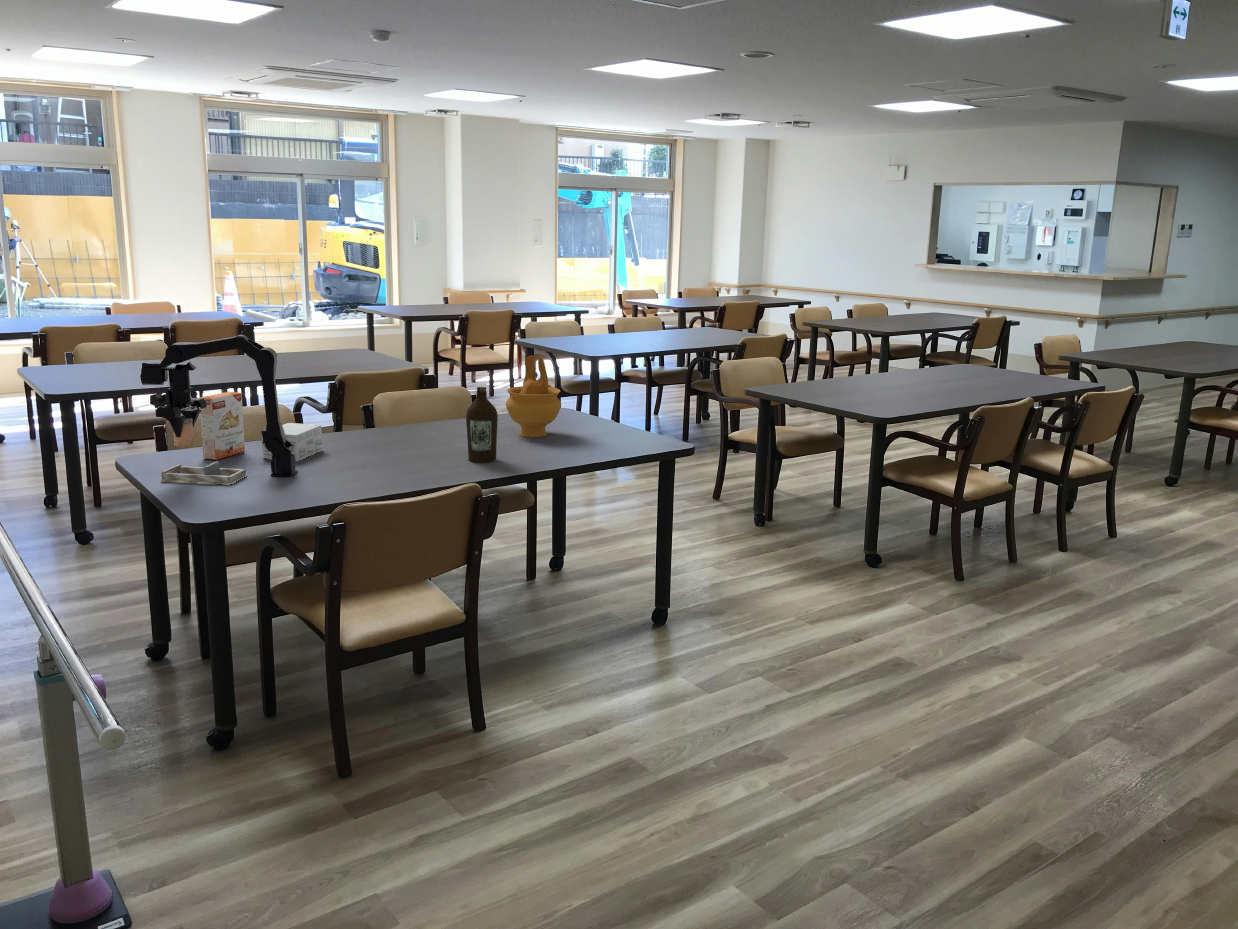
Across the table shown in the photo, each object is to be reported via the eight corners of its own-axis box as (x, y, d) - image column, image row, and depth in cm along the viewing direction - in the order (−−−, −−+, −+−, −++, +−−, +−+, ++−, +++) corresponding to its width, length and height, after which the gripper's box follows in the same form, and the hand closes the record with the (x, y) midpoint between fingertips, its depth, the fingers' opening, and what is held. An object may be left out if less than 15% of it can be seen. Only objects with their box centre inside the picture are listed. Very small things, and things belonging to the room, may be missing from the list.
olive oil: (468, 456, 339) (467, 384, 333) (499, 456, 339) (498, 384, 333) (464, 463, 328) (463, 389, 322) (496, 463, 329) (496, 390, 323)
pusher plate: (219, 474, 305) (218, 461, 304) (208, 479, 298) (207, 466, 297) (216, 474, 305) (215, 461, 304) (204, 479, 298) (203, 466, 297)
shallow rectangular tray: (247, 476, 306) (246, 466, 305) (230, 485, 295) (229, 475, 295) (180, 472, 308) (179, 463, 307) (160, 481, 298) (159, 472, 297)
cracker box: (217, 461, 324) (212, 398, 319) (202, 459, 326) (197, 397, 321) (246, 452, 337) (242, 392, 332) (232, 450, 339) (228, 390, 334)
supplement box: (289, 448, 345) (287, 422, 343) (323, 451, 342) (321, 424, 340) (262, 459, 329) (260, 431, 327) (297, 462, 326) (296, 434, 324)
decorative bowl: (494, 434, 374) (493, 356, 367) (529, 426, 391) (529, 351, 383) (537, 442, 362) (537, 361, 355) (572, 433, 379) (572, 356, 372)
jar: (198, 442, 303) (196, 417, 302) (187, 446, 298) (186, 421, 296) (180, 441, 304) (178, 416, 302) (170, 445, 299) (167, 420, 297)
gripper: (172, 379, 307) (176, 428, 310) (136, 388, 289) (140, 440, 292) (205, 380, 305) (209, 429, 309) (172, 390, 287) (176, 442, 291)
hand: (183, 435), depth 300 cm, fingers closed on jar, 5 cm apart
